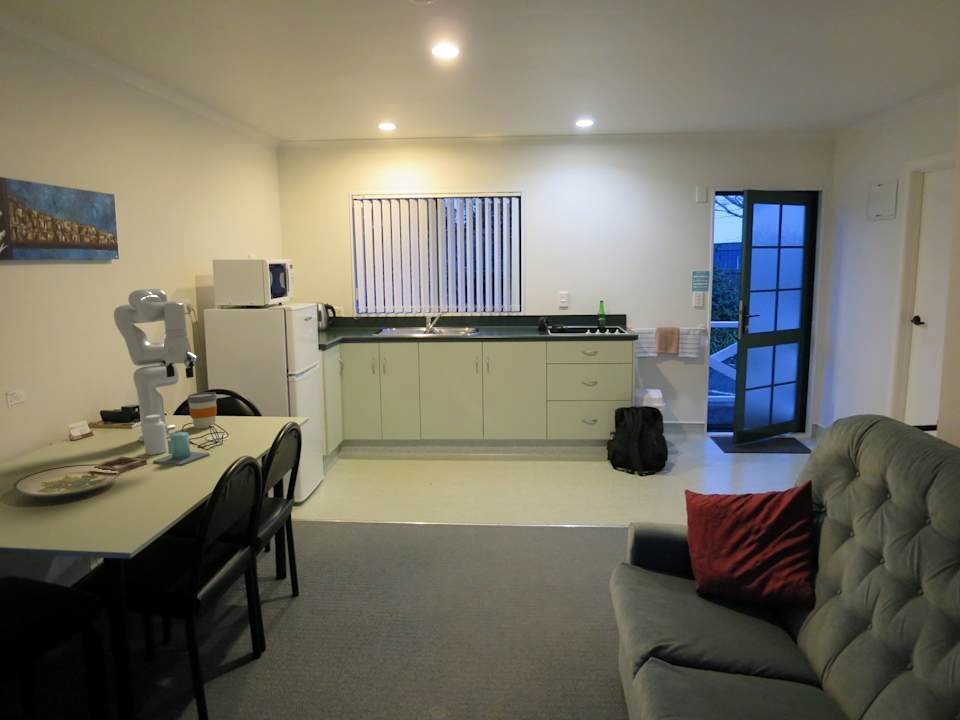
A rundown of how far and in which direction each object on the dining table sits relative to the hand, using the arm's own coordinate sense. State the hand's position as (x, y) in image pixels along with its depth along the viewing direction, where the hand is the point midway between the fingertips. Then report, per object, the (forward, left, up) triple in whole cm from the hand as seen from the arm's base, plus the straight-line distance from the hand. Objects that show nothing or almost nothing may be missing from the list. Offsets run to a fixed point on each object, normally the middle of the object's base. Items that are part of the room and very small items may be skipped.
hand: (180, 377), depth 255 cm
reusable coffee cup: (-36, -25, -30) cm, 53 cm away
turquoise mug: (+11, +7, -29) cm, 32 cm away
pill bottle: (+5, -11, -30) cm, 33 cm away
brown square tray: (+25, -8, -30) cm, 40 cm away
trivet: (+10, +7, -30) cm, 33 cm away
